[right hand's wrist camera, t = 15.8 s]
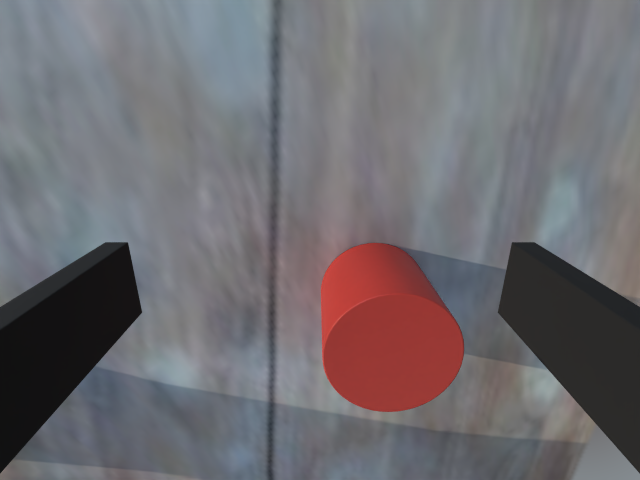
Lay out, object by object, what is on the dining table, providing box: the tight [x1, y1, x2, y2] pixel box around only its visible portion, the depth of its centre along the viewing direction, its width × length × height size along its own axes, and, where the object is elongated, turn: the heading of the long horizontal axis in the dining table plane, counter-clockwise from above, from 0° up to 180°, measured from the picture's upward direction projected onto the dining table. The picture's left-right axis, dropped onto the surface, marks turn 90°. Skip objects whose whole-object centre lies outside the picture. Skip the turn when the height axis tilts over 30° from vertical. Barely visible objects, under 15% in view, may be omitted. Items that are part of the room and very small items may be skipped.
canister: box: [321, 243, 464, 412], centre depth 26 cm, size 9×9×9 cm
